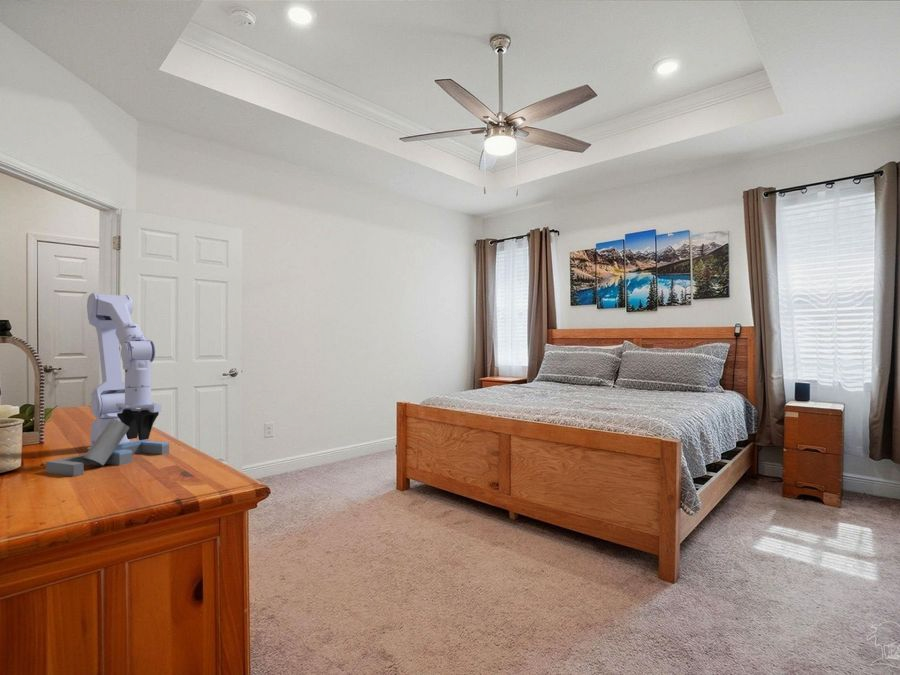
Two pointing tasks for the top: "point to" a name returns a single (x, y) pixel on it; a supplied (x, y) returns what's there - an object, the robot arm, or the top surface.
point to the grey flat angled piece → (76, 463)
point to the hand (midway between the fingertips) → (138, 439)
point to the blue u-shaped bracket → (133, 443)
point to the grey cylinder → (106, 443)
